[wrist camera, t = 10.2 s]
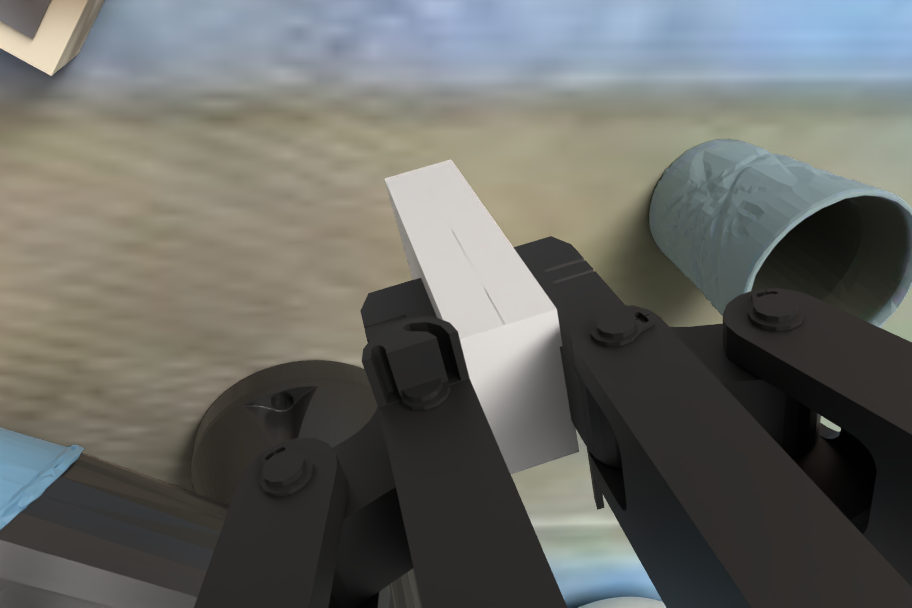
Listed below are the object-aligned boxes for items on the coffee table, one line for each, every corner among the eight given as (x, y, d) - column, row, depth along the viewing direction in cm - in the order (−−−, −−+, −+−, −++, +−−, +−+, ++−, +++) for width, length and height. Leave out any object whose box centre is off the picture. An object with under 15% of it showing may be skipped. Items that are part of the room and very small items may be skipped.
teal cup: (611, 248, 46) (707, 348, 36) (686, 99, 42) (819, 164, 32) (730, 282, 49) (847, 382, 39) (810, 148, 45) (964, 221, 35)
